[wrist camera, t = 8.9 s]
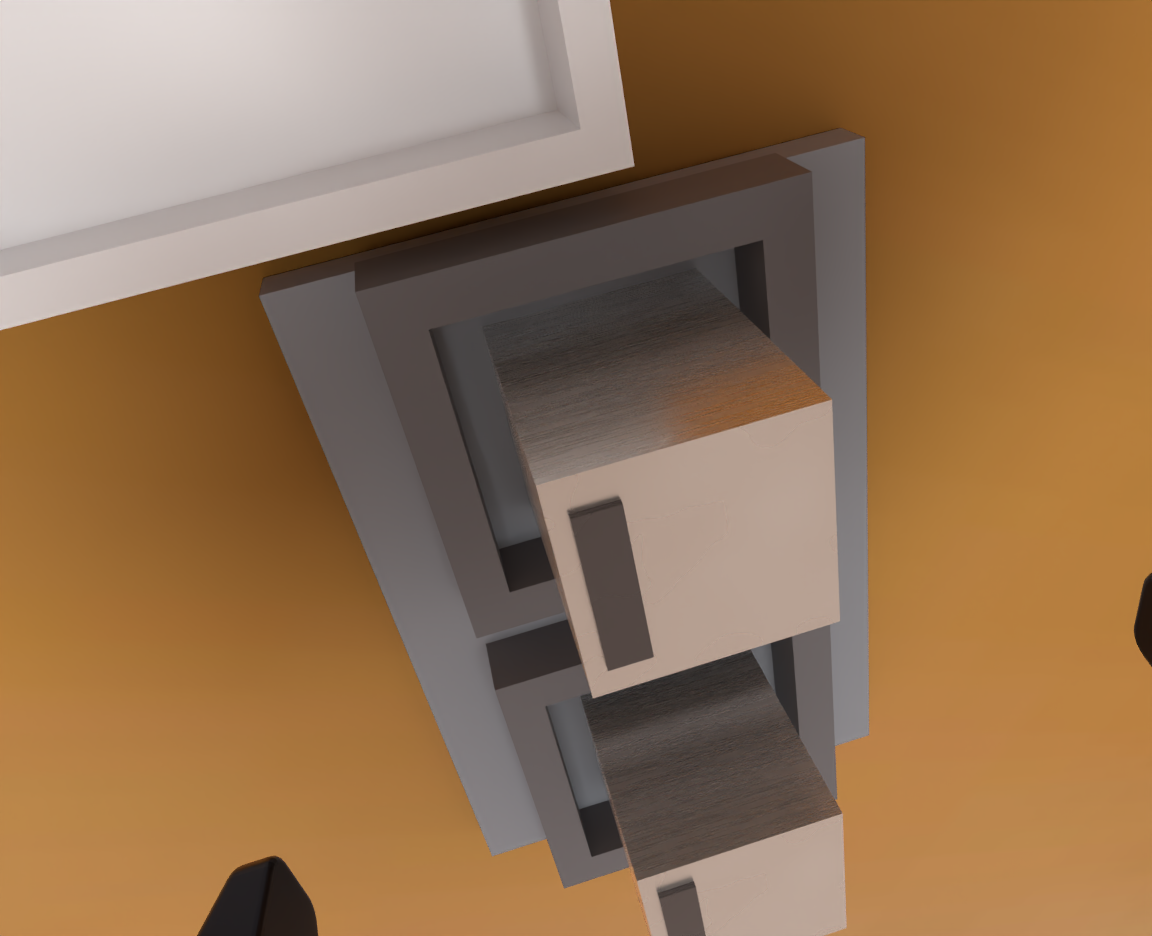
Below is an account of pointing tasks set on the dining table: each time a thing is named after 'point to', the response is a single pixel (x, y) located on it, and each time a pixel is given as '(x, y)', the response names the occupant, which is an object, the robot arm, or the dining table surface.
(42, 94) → the white square tray
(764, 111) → the dining table surface
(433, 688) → the plate
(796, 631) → the billet loose
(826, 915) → the block
